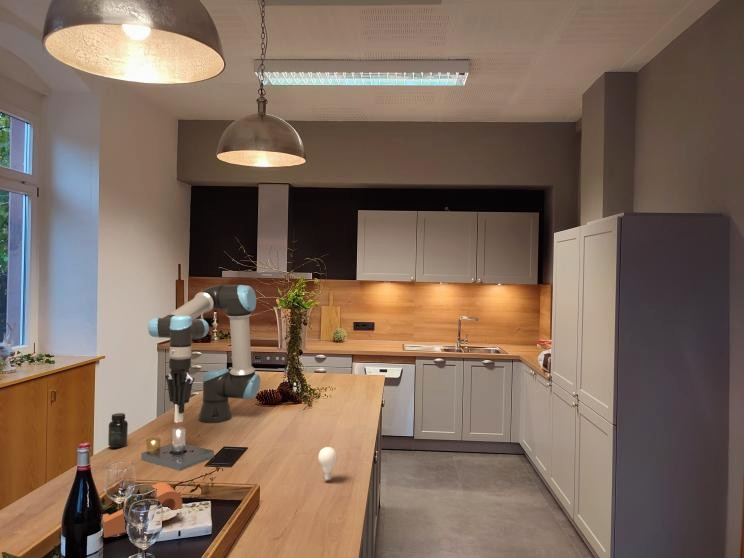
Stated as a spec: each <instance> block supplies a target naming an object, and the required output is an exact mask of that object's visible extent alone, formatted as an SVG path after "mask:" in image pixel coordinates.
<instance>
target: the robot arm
mask: <svg viewBox="0 0 744 558" xmlns="http://www.w3.org/2000/svg"><path fill="white" fill-rule="evenodd" d="M256 308H257V295H256V292H255V290H254V289H253V287H251V286H250V285H243V284H215V285H212V286H210V287H207V288H205V289H203V290H200V291H199V292H198V293H196V294H195V295H194V297H193V299H191V300H189V301H188V302H186V303H183V305H181V306H179V307H177V309H175V310H173V311H172V312H170V313H169V314H166V316H163V317H154V318H151V319H150V321H149V322H148V325H147V329H148V330H147V331H148V334H149V335H150V336H151V337H154V338H161V339H162V338H164V339H165V338H167V339H168V338H169V360H168V361H169V365H168V368H169V370H170V373H169V374H166V375H165V376H164V377H165V380H166V384H167V390H168V392H167V393H168V397H169V398H168V399H169V402H170V403H171V402H172V404H173V412H174V420H173V421H174V423H176V424H178V423H182V422H184V413H185V404H187V403H189V402H190V398H191V393H192V388H193V383H194V382H195V380H196V379H195V377H191V375H190V369H191V367H192V365H191V364H192V358H191V357H192V340H196V339H197V340H198V339H201V338H203V337H206V336H207V334H208V333H209V331H210V326H209V323H208V322H207V321H206V320H205V319H203V318H198V317H199V316H201V315H202V314H204V313H209V312H211V311H217V310H218V311H225V314H226V315H225V316H227V317H228V318H229V325H230V342H231V360H232V368H231V369H230V370H229V369H228V368H220V369H212V370H208V371H205V372H204V374H203V379H202V390H203V391H202V405H201V407H200V411H199V414H198V421H200V422H203V423H206V424H207V423H209V424H211V423H214V424H215V423H223V422H227V421H230V420H231V419H232V417H233V415H232V414H233V413H232V410H231V408H230V404H229V399H239V400H240V399H241V400H252V399H254V398H255V397H256V396H257V394H258V392H259V389H260V386H261V376H260V375H259V374H258V373H256V368H255V367H253V365H252V354H251V353H252V351H251V332H250V317H251V316H252V314H253V311H255V309H256Z"/></svg>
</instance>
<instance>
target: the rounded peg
mask: <svg viewBox="0 0 744 558" xmlns="http://www.w3.org/2000/svg"><path fill="white" fill-rule="evenodd" d="M171 444H172V454H173V455H179V454H184V453H185V444H186V427H183V426H181V427H173V428H172V430H171Z"/></svg>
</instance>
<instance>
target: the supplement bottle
mask: <svg viewBox="0 0 744 558" xmlns="http://www.w3.org/2000/svg"><path fill="white" fill-rule="evenodd" d="M128 426H129V423H128V421H127V420H126V413H123V412H122V413H121V412H118V413H113V414H111V421H110V422H109V423H108V435H107V437H108V439H107V440H108V441H107V443H108V444H107V445H108V446H109V447H110V448H121V447H124V446H126V445H127V444H128V430H129V429H128Z"/></svg>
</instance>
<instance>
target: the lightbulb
mask: <svg viewBox="0 0 744 558" xmlns="http://www.w3.org/2000/svg"><path fill="white" fill-rule="evenodd" d="M317 458H318V462H319V464H320V466H321V468H322V471H323V477H322V479H323V480H325V481H326V482H327V481H330V480H331V479H332V472H333V468H334V466H335V464H336V463H337V460H338V453H337V452H336V449H334V448H333V447H331V446H325V447H323V448H321V449H320V450H319V452H318V456H317Z"/></svg>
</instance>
